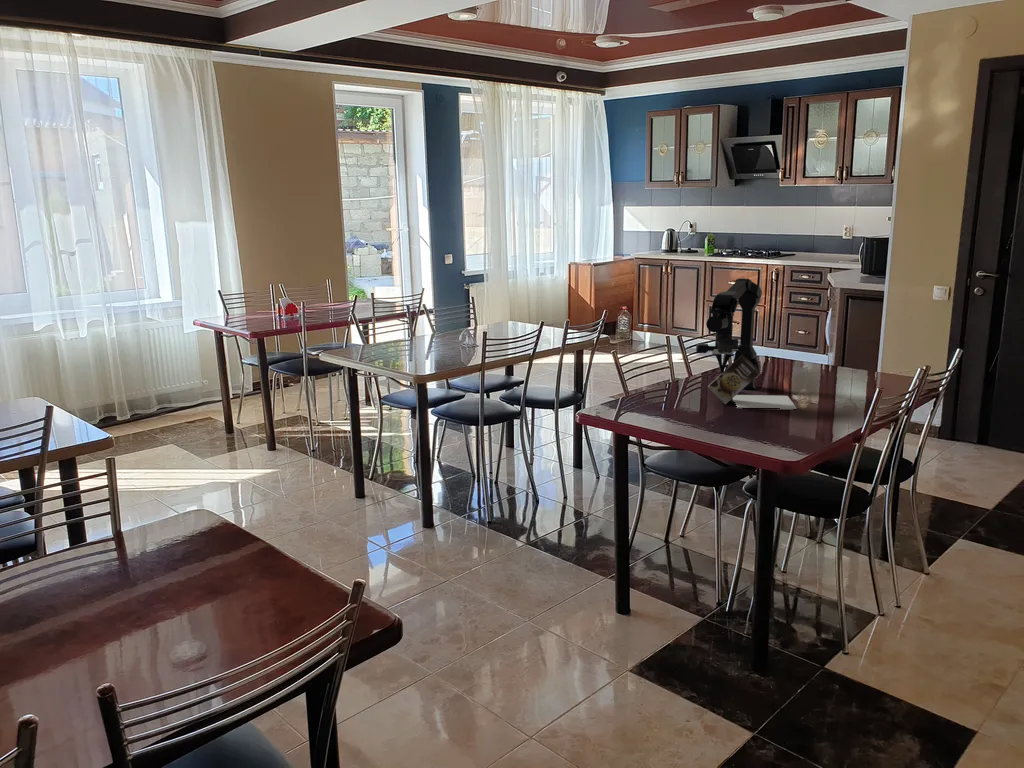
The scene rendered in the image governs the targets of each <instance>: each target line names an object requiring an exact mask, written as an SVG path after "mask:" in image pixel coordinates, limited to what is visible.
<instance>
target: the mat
mask: <svg viewBox="0 0 1024 768" xmlns="http://www.w3.org/2000/svg"><path fill="white" fill-rule="evenodd" d="M732 401H733V402H735V403H734V405H735V404H736V405H735V406H737V407H736V409H742V408H780V409H779V410H793V409H797V406H796V405H795V404H794V402H793V400H791V398H790V397H789V396H788V395H765V394H764V395H763V394H761V395H760V394H737V395H736V396H734V397H733V398H732Z"/></svg>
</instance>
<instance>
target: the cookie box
mask: <svg viewBox="0 0 1024 768" xmlns="http://www.w3.org/2000/svg"><path fill="white" fill-rule="evenodd" d="M760 373H761V370H760V371H759V370H758V369H757V368H756V367H755V366H754V365H753V364H752V363H751V362H750V361H749V360H748V359H747V358H746V357H745V356H744V355H743V354H742V355H741V356H740V357H739V358H738V359H737V360H736V361H735V362H734V363H731V364H730V365H729V366H728V367H726V369H724V372H723V373H721V374H720V375H718V376H717V377H716V378H715V379H714V380H713V381H712V382H710V383H709V384H708V385H707V388H708V389H709V390H710V391H711V392H713V394H714V395H715V396H716V397H717V398H718V399H720V401H721V402H722V403H724V405H727V403H729V402H730V401H732V400H733V397H734V396H736V395H739V393H740V392H742V391H743V390H744V389H743V388H744V387H746V386H747V385H748V384H749V383H750V382H751V381H752V380H753V379H754V380H755V379H756V377H758V376H759V375H760Z"/></svg>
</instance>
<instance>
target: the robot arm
mask: <svg viewBox="0 0 1024 768" xmlns="http://www.w3.org/2000/svg"><path fill="white" fill-rule="evenodd" d="M762 293H763V291H762V288H761V287H760V285H758V284H757V283H755V282H753V281H752V279H749V278H742V277H741V278H739V277H738V278H737V279H736V280H735V282H734V283H733V284H732V285H731V286H730V287H728V289H727V290H726V291H721V292H719V293H717V294H716V296H715V297H714V298H713V301H712V304H711V308H710V312H709V313H710V314H711V316H710V317H708V319H707V321H706V322H705V323H706V324H705V325H706V328H707V330H708V331H709V332H711V333H715V341H714V342H715V344H714V345H709V344H708V343H705V342H704V343H703V342H702V343H696V346H695V352H696V353H698V354H707V353H708V352H711V354H712V356H713V357H714V356H715V358H716V360H717V363H718V367H719V371H720V373H721V374H722V373H723V372H724V371H725V370H726V369H725V368H727V364H728V362H729V360H730V358H731V357H733V361H732V362H733V363H734V362H735V361H736V360H737V359H738V358H739V357H740V356H741V355H742V354H743V355H744V356H745V357H746V358H747V359H748V360H749V361H750V362H751V363H752V364H753V365H754V366H755V367H756V368H757V369H758V370H759V371H760V372H761V366H760V363H759V360H758V358H757V355H758V354H757V352H756V350H755V348H754V330H755V329H754V327H755V312H756V307H758V305H759V304H760V302H761V298H762ZM738 306H740V308H741V322H740V323H741V324H740V325H741V326H740V342H739V338H733V330H734V329H733V328H734V316H735V313H736V311H737V308H738ZM722 354H723V355H722ZM733 363H732V364H733ZM742 390H756V386H755V378H754V379H753V380H752V381H751V382H750V383H749V384H748V385H747V386H746V387H744V388H743V389H742Z"/></svg>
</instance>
